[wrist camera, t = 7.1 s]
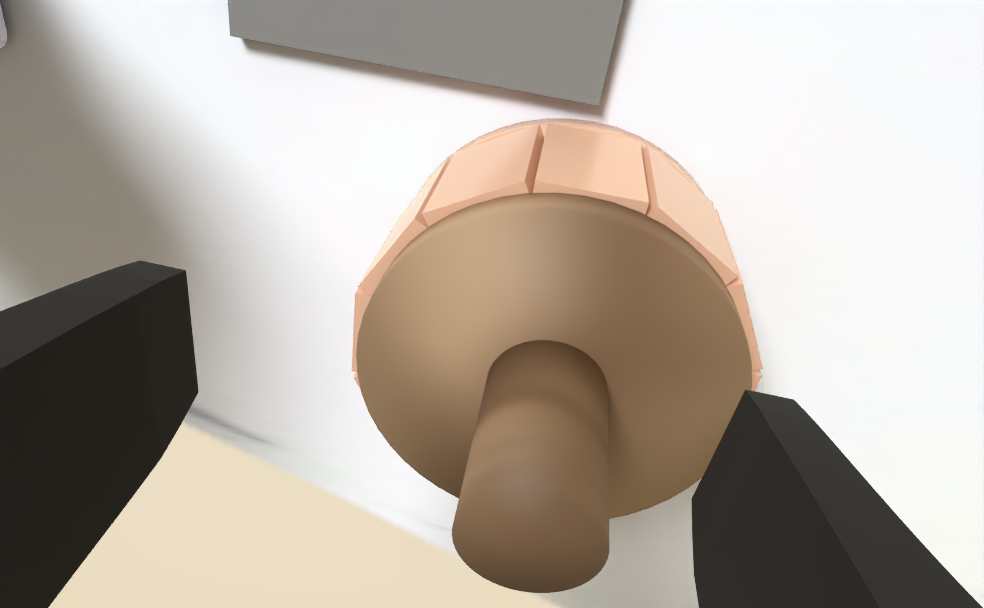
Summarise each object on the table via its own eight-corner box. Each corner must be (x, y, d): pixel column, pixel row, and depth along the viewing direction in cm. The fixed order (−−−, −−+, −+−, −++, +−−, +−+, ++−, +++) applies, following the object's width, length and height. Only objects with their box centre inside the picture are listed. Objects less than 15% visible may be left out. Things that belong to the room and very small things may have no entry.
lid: (363, 463, 18) (293, 635, 14) (371, 159, 13) (268, 283, 9) (683, 524, 17) (708, 721, 13) (806, 233, 13) (901, 397, 9)
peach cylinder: (390, 368, 22) (347, 469, 18) (414, 87, 17) (361, 146, 13) (669, 426, 21) (683, 540, 18) (777, 156, 16) (827, 237, 13)
